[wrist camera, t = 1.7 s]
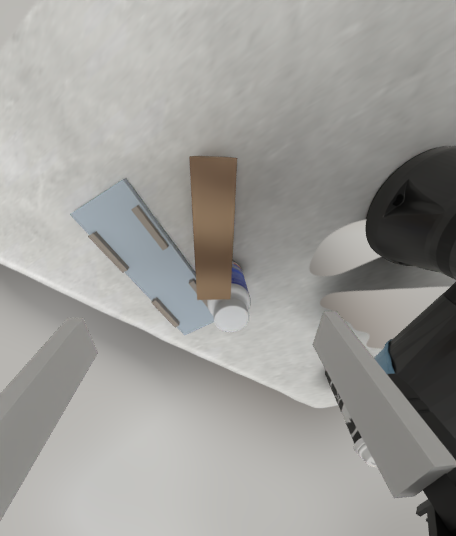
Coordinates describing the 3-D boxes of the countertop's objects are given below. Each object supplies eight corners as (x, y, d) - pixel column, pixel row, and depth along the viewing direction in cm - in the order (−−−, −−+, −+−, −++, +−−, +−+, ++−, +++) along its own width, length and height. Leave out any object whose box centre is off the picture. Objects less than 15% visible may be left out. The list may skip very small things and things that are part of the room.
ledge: (126, 178, 24) (119, 180, 22) (224, 312, 35) (225, 320, 33) (74, 212, 25) (65, 216, 23) (185, 331, 36) (184, 339, 34)
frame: (197, 155, 23) (188, 156, 14) (226, 156, 23) (236, 158, 14) (201, 251, 29) (196, 299, 19) (224, 251, 29) (230, 299, 20)
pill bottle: (203, 263, 30) (200, 306, 21) (238, 254, 30) (250, 295, 21) (213, 292, 32) (213, 341, 24) (245, 284, 32) (258, 331, 24)
